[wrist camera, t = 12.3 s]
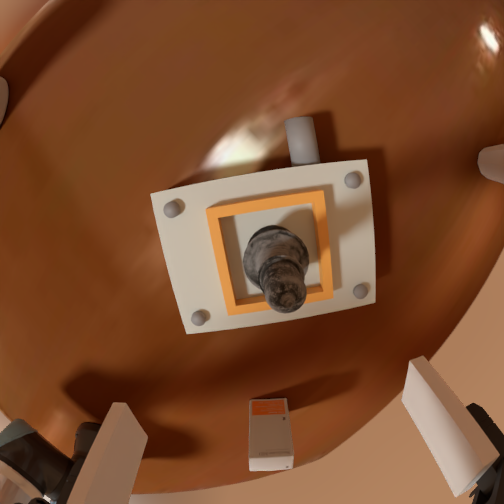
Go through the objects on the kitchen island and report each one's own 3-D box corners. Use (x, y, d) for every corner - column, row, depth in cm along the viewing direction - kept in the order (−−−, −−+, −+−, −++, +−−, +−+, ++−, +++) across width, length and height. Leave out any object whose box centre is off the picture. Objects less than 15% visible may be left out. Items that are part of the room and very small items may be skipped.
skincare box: (286, 396, 40) (295, 455, 28) (285, 412, 41) (293, 469, 29) (248, 398, 40) (248, 458, 28) (249, 414, 41) (249, 472, 29)
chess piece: (286, 211, 27) (314, 240, 15) (311, 262, 28) (349, 320, 17) (232, 239, 28) (221, 287, 16) (260, 288, 29) (267, 359, 17)
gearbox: (194, 313, 35) (184, 341, 29) (157, 149, 30) (136, 145, 23) (360, 286, 35) (380, 308, 28) (343, 120, 29) (364, 109, 23)
